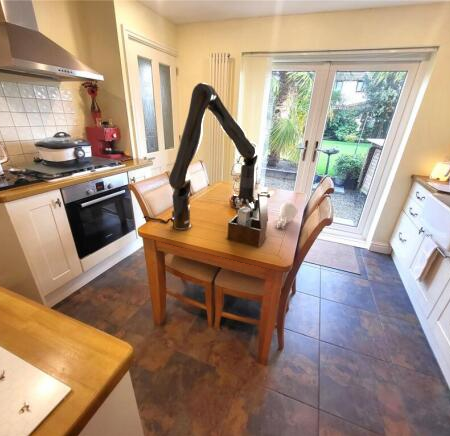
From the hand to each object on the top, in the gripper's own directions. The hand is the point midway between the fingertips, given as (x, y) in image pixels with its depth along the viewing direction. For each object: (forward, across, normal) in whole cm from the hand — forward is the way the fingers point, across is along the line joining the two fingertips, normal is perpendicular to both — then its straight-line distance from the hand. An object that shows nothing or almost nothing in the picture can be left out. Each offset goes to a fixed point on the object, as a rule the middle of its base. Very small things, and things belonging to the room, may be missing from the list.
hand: (244, 215), depth 122 cm
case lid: (-6, -9, 0) cm, 11 cm away
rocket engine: (+13, -14, -29) cm, 35 cm away
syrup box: (+11, 0, 0) cm, 11 cm away
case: (+13, -2, 0) cm, 13 cm away
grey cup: (+13, +6, -26) cm, 30 cm away
